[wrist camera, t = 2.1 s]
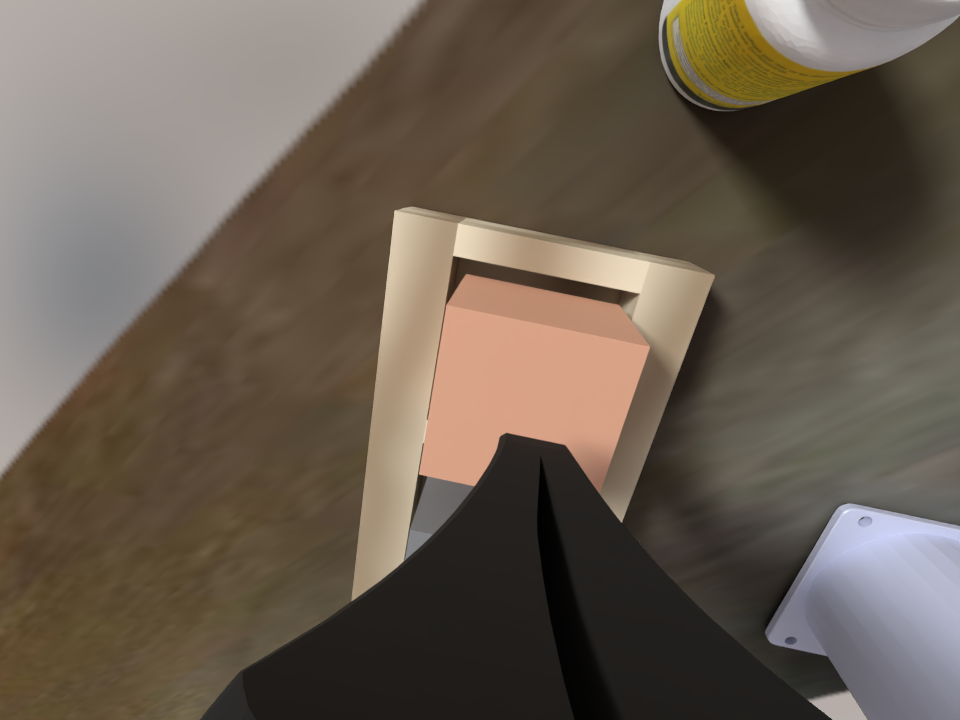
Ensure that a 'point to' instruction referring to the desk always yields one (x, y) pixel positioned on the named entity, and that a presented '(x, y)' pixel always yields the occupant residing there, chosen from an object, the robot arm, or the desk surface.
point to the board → (417, 335)
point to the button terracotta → (529, 377)
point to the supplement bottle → (786, 44)
